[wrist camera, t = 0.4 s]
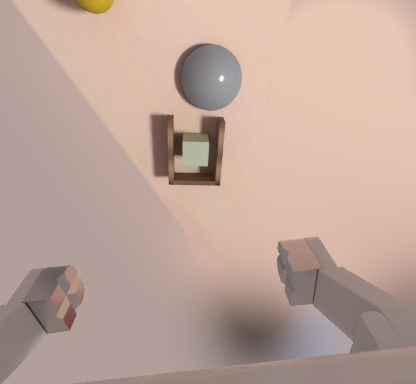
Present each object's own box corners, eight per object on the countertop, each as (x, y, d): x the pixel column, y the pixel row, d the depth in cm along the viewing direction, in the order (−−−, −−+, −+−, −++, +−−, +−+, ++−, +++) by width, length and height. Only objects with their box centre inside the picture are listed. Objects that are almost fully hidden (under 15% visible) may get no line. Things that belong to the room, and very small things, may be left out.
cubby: (168, 115, 52) (167, 120, 49) (223, 117, 52) (225, 122, 49) (169, 176, 59) (168, 184, 56) (218, 177, 59) (219, 185, 56)
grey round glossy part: (180, 42, 45) (180, 42, 44) (244, 46, 46) (245, 46, 45) (180, 107, 51) (180, 109, 50) (237, 110, 52) (238, 111, 51)
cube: (183, 132, 54) (182, 141, 49) (207, 133, 54) (209, 142, 50) (183, 155, 56) (182, 165, 52) (206, 156, 57) (207, 166, 52)
